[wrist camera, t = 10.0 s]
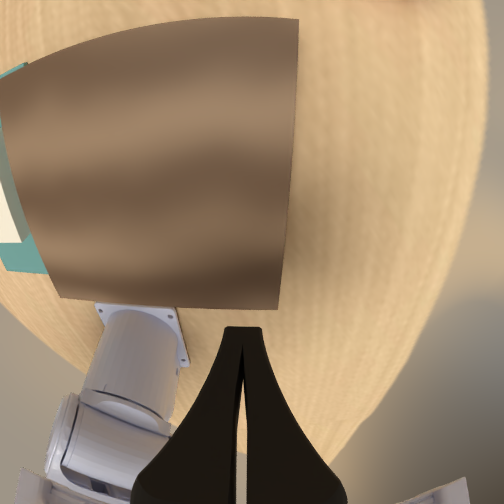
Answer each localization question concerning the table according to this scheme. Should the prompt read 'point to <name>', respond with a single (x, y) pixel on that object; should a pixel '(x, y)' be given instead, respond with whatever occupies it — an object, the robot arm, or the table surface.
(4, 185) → the tile
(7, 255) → the mat
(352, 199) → the table surface
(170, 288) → the stand
